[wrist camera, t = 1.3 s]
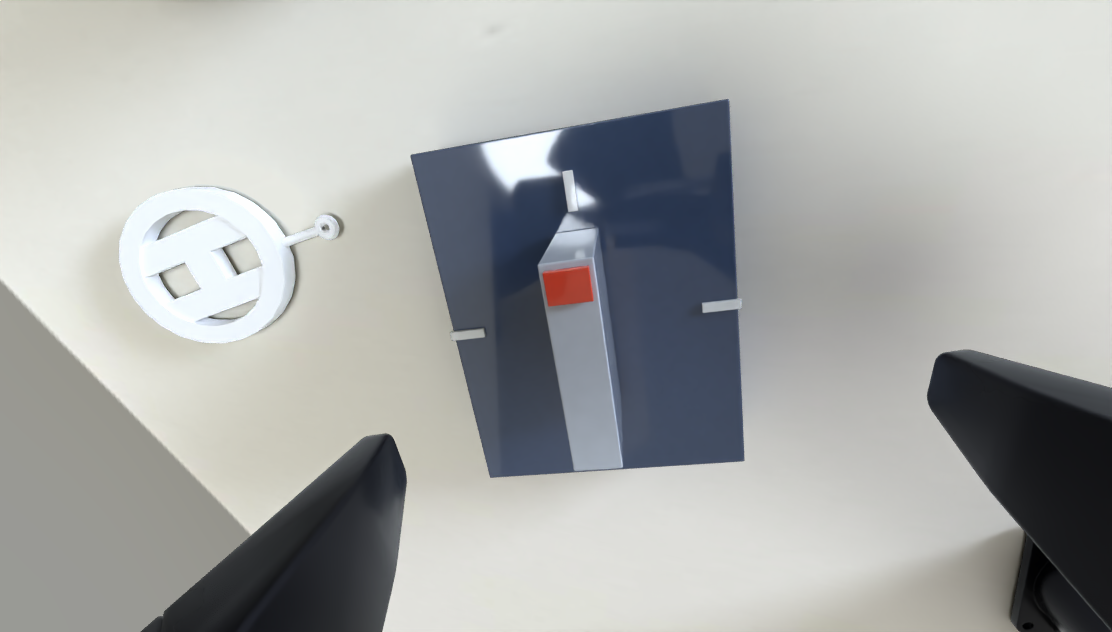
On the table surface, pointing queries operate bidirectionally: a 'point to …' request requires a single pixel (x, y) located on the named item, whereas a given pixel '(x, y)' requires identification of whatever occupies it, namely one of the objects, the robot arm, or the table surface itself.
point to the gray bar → (583, 348)
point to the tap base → (630, 273)
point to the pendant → (211, 262)
